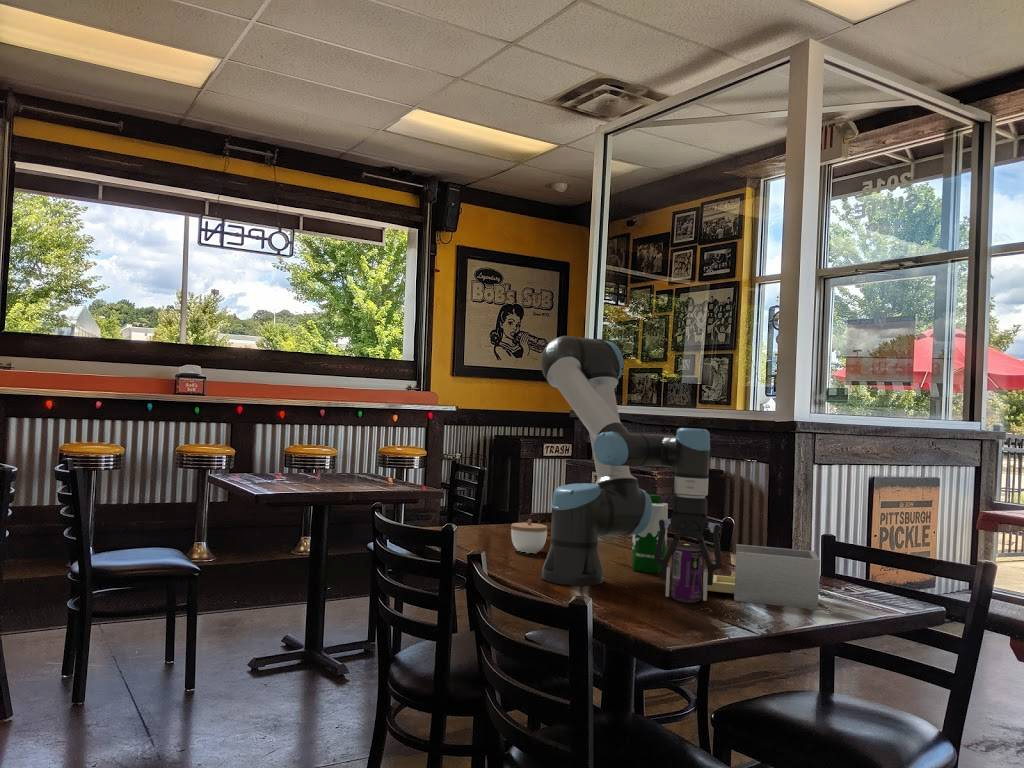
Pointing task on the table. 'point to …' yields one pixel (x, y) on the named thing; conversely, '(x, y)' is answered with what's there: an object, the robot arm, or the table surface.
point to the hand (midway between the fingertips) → (686, 597)
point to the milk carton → (650, 540)
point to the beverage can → (687, 574)
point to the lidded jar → (528, 536)
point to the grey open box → (777, 576)
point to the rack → (721, 583)
